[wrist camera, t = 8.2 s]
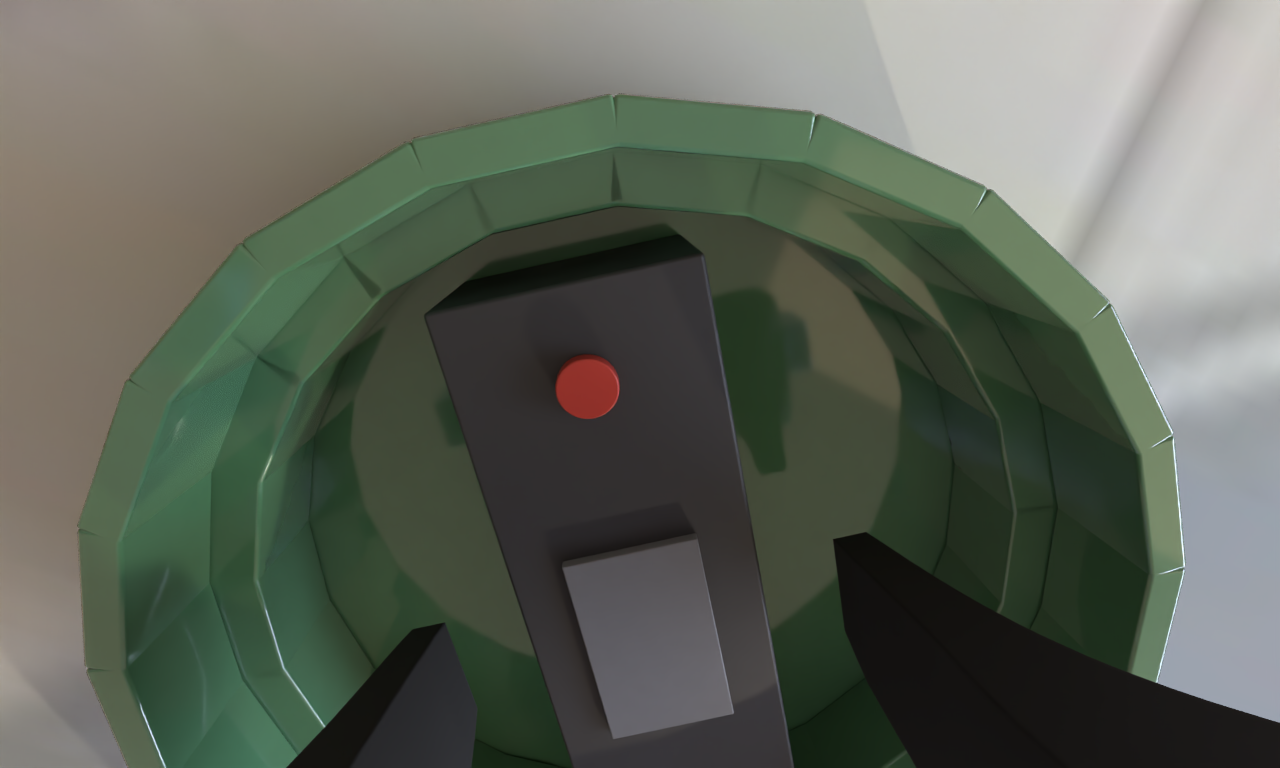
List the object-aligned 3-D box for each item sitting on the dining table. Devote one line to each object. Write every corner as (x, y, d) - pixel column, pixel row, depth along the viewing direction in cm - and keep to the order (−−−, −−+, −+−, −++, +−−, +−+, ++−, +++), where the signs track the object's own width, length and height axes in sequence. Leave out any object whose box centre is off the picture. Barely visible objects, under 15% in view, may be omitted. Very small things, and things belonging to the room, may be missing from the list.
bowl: (1008, 718, 18) (1157, 920, 13) (400, 845, 18) (327, 1089, 13) (990, 37, 12) (1241, -49, 7) (109, 234, 12) (-199, 274, 8)
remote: (770, 715, 16) (809, 843, 13) (605, 750, 16) (605, 885, 13) (680, 232, 12) (707, 254, 9) (462, 281, 12) (415, 318, 9)
